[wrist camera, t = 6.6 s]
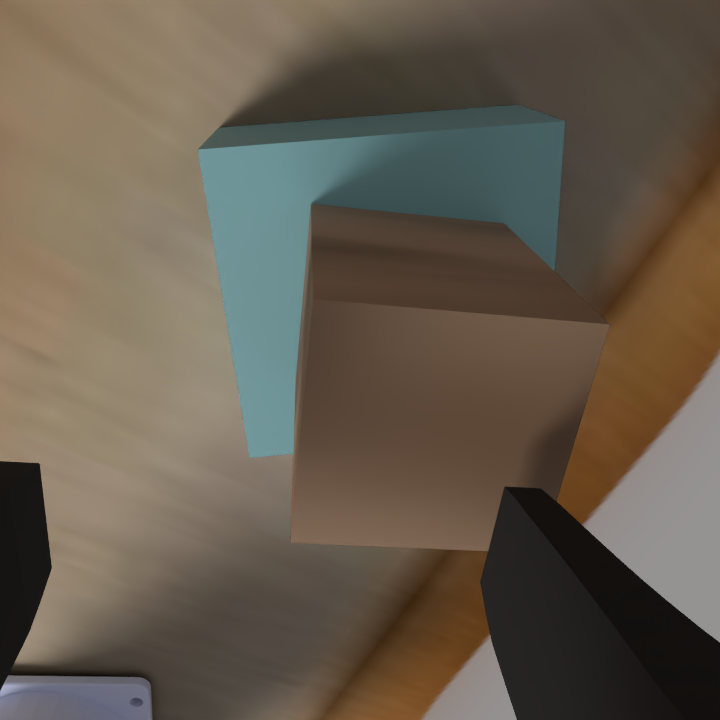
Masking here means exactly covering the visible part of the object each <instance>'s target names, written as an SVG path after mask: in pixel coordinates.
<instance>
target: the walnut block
mask: <svg viewBox="0 0 720 720" xmlns="http://www.w3.org/2000/svg"><path fill="white" fill-rule="evenodd" d="M609 326H610V324H609V323H608V322H607V321H606V320H605V319H604V318H603V317H602V316H601V315H600V314H599V313H598V312H597V311H595V310H594V309H593V308H592V307H591V306H590V305H589V304H588V303H587V302H586V301H585V300H584V299H583V298H582V297H581V296H580V295H579V294H578V293H577V292H576V291H575V290H573V289H572V288H571V287H570V286H569V285H568V284H567V283H566V282H565V281H564V280H563V279H562V278H561V277H560V276H559V275H558V274H557V273H556V272H555V271H554V270H553V269H552V268H550V267H549V266H548V265H547V264H546V263H545V262H544V261H543V260H542V259H541V258H540V257H539V256H538V255H537V254H536V253H535V252H534V251H533V250H532V249H531V248H530V247H528V246H527V245H526V244H525V243H524V242H523V241H522V240H521V239H520V238H519V237H518V236H517V235H516V234H515V233H514V232H513V231H512V230H511V229H510V228H509V227H508V226H507V225H505V224H504V223H495V222H486V221H476V220H466V219H456V218H446V217H436V216H426V215H417V214H407V213H397V212H387V211H377V210H367V209H358V208H348V207H338V206H328V205H318V204H311V207H310V219H309V231H308V242H307V254H306V266H305V277H304V289H303V300H302V312H301V324H300V335H299V347H298V359H297V370H296V384H295V416H294V447H293V479H292V511H291V542H290V543H306V544H329V545H353V546H377V547H401V548H424V549H448V550H472V551H488V550H489V546H490V542H491V538H492V534H493V530H494V526H495V522H496V518H497V514H498V510H499V506H500V502H501V498H502V494H503V490H504V486H506V487H526V488H541V489H542V490H543V491H545V492H546V493H547V494H548V495H549V496H551V497H552V498H553V499H554V500H555V501H557V497H558V494H559V491H560V487H561V484H562V481H563V478H564V474H565V471H566V468H567V464H568V461H569V458H570V455H571V451H572V448H573V445H574V441H575V438H576V435H577V432H578V428H579V425H580V422H581V418H582V415H583V412H584V409H585V405H586V402H587V399H588V395H589V392H590V389H591V385H592V382H593V379H594V376H595V372H596V369H597V366H598V362H599V359H600V356H601V353H602V349H603V346H604V343H605V339H606V336H607V333H608V330H609Z"/></svg>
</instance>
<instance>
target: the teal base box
mask: <svg viewBox="0 0 720 720" xmlns="http://www.w3.org/2000/svg"><path fill="white" fill-rule="evenodd" d="M564 131H565V121H564V120H561V119H558V118H555V117H552V116H550V115H547V114H544V113H541V112H538V111H535V110H532V109H529V108H526V107H524V106H521V105H507V106H494V107H481V108H468V109H455V110H442V111H429V112H416V113H403V114H390V115H377V116H364V117H351V118H338V119H325V120H312V121H299V122H286V123H273V124H260V125H247V126H234V127H221V128H218V129H217V130H216V131H215V132H214V133H213V134H212V135H211V136H210V137H209V138H208V139H207V141H206V142H205V143H204V144H203V145H202V146H201V147H200V148H199V149H198V154H199V160H200V166H201V172H202V178H203V184H204V190H205V196H206V202H207V208H208V213H209V219H210V225H211V231H212V237H213V243H214V249H215V255H216V261H217V267H218V273H219V279H220V285H221V291H222V297H223V303H224V309H225V315H226V320H227V326H228V332H229V338H230V344H231V350H232V356H233V362H234V368H235V374H236V380H237V386H238V392H239V398H240V404H241V410H242V416H243V422H244V428H245V433H246V439H247V445H248V451H249V457H250V458H253V457H264V456H275V455H286V454H293V447H294V416H295V384H296V370H297V359H298V347H299V335H300V324H301V312H302V300H303V289H304V277H305V266H306V254H307V242H308V231H309V219H310V207H311V204H318V205H328V206H338V207H348V208H358V209H367V210H377V211H387V212H397V213H407V214H417V215H426V216H436V217H446V218H456V219H466V220H476V221H486V222H495V223H504V224H505V225H507V226H508V227H509V228H510V229H511V230H512V231H513V232H514V233H515V234H516V235H517V236H518V237H519V238H520V239H521V240H522V241H523V242H524V243H525V244H526V245H527V246H528V247H530V248H531V249H532V250H533V251H534V252H535V253H536V254H537V255H538V256H539V257H540V258H541V259H542V260H543V261H544V262H545V263H546V264H547V265H548V266H549V267H550V268H552V269H553V270H554V271H555V262H556V247H557V233H558V218H559V204H560V189H561V175H562V160H563V146H564Z"/></svg>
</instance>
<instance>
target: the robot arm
mask: <svg viewBox="0 0 720 720" xmlns="http://www.w3.org/2000/svg"><path fill="white" fill-rule="evenodd" d="M51 569H52V566H51V557H50V549H49V540H48V532H47V523H46V515H45V506H44V498H43V489H42V481H41V472H40V464H39V463H23V462H3V461H0V720H153V719H152V699H151V685H150V683H149V682H148V681H147V680H146V679H144V678H141V677H93V676H13V675H8V674H9V672H10V670H11V668H12V666H13V664H14V662H15V660H16V658H17V656H18V654H19V652H20V650H21V648H22V646H23V644H24V642H25V640H26V638H27V636H28V634H29V631H30V629H31V626H32V623H33V621H34V618H35V615H36V612H37V610H38V607H39V604H40V601H41V598H42V595H43V592H44V589H45V586H46V583H47V580H48V578H49V575H50V572H51ZM480 583H481V588H482V594H483V599H484V605H485V610H486V616H487V621H488V625H489V630H490V635H491V640H492V643H493V647H494V650H495V653H496V656H497V659H498V663H499V666H500V669H501V672H502V675H503V678H504V682H505V685H506V688H507V691H508V694H509V697H510V700H511V703H512V706H513V709H514V712H515V715H516V718H517V720H720V643H719V642H718V641H717V640H716V639H714V638H713V637H712V636H710V635H709V634H707V633H706V632H705V631H704V630H702V629H701V628H700V627H699V626H697V625H696V624H695V623H694V622H692V621H691V620H690V619H689V618H688V617H686V616H685V615H684V614H683V613H681V612H680V611H679V610H678V609H676V608H675V607H674V606H673V605H672V604H670V603H669V602H668V601H666V600H665V599H664V598H663V597H662V596H661V595H659V594H658V593H657V592H656V591H655V590H654V589H652V588H651V587H650V586H649V585H648V584H646V583H645V582H644V581H643V580H642V579H641V578H640V577H639V576H637V575H636V574H635V573H634V572H633V571H632V570H631V569H629V568H628V567H627V566H626V565H625V564H624V563H622V561H620V560H619V559H618V558H617V557H616V556H615V555H614V554H613V553H612V552H611V551H609V550H608V549H607V548H606V547H605V546H604V545H603V544H602V543H601V542H600V541H599V540H597V539H596V538H595V537H594V536H593V535H592V534H591V533H590V532H589V531H588V530H587V529H586V528H584V527H583V526H582V525H581V524H580V523H579V522H578V521H577V520H576V519H575V518H574V517H573V516H572V515H570V514H569V513H568V512H567V511H566V510H565V509H564V508H563V507H562V506H561V505H560V504H558V503H557V502H556V501H555V500H554V499H553V498H552V497H551V496H549V495H548V494H547V493H546V492H545V491H543V490H542V489H541V488H526V487H506V486H504V490H503V494H502V498H501V502H500V506H499V510H498V514H497V518H496V522H495V526H494V530H493V534H492V538H491V542H490V546H489V550H488V554H487V558H486V562H485V566H484V570H483V574H482V578H481V582H480Z"/></svg>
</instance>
